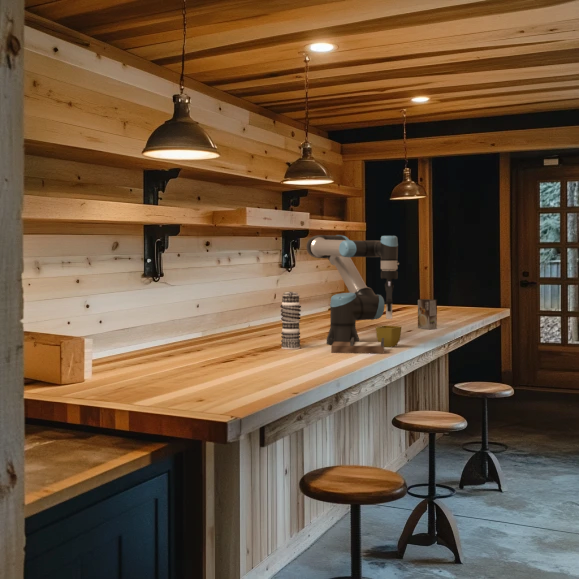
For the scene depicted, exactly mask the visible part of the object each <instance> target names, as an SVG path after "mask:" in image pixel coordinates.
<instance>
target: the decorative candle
mask: <svg viewBox="0 0 579 579" xmlns="http://www.w3.org/2000/svg"><path fill="white" fill-rule="evenodd" d="M300 296H301V295H299V294H298V291H284V292H283V294H282V295H281V297H282V299H281V301H282V302H281V304H280V308H281V309H280V316H281V318H280V319H281V321H280V322H281V323H282V325H281V326H282V328H281V333H280V334H281V338H282V339H281V340H280V341H281V344H280V346H281V349H282V350H300V349H301V332H300V323H301V318H302V317H300V316H301V311H302V309H301V308H302V306H301V305H300V304H301V303H300Z"/></svg>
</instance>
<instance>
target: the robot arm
mask: <svg viewBox="0 0 579 579" xmlns="http://www.w3.org/2000/svg"><path fill="white" fill-rule="evenodd" d="M305 247H306V252H307V254H308V255H309V256H311V257H313V258H315V259H328V261H329V263H330V265H333V266H335V268H336V270H337V271H338V273H339V275H340V277H341V279H342V281H343V283H344V285H345V286H346V288H347V290H348V292H341V293H336V294H333V295H332V296H331V297H330V304H329V305H330V306H329V308H330V328H329V329H328V330H329V331H328V333H327V337H326V344H327V345H329V346H332V344H333V342H350V341H351V339H352V337H354V342H360V338H359V334H358V331H357V328H356V327H357V326H356V322H357V321H370V320H371V321H374V320H379V319H380V318H382V316H383V314H384V312H385V319H387V320H389V319H390V320H392V319H393V302H394V299H393V292H394V287H395V286H394V285H395V284H394V282H393V280H398V276H399V275H398V274H399V272H398V268H399V267H398V266H399V265H400V262H399V261H398V257H399V256H398V255H399V242H398V236H396V235H381V237H380V240H353V239H352V240H351V239H349V237H347V236H345V235H341V234H336V235H333V234H331V235H326V234H325V235H324V234H323V235H322V234H317V235H314V236H312V237H310V238H309V239H308V240H307V241H306V245H305ZM352 258H380V279H381V280H386V281H385V283H384V288H385V290H384V291H385V293H386V294H385V295H386V299H384V297H383V296H382V294H378V293H377V294H376V293H375V292H374V290H373V288H371V287H368V286H367V285H366V283H365V281H364V279H363V277H362V275H361V274H360V271H359V270H358V268H357V267H356V265H355V263H354V261H353V260H352ZM385 300H386V301H385Z"/></svg>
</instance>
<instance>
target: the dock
mask: <svg viewBox="0 0 579 579" xmlns="http://www.w3.org/2000/svg"><path fill="white" fill-rule="evenodd" d="M330 346H331V347H330V348H331V352H330V353H331V354H369V353H370V354H374V355H375V354H377V355H378V354H379V355H384V353H385V347H384V338H382V340H381V342H378V341H359V342H354V337H352V339H351V341H350V342H333V344H332V345H330ZM370 354H369V355H370Z"/></svg>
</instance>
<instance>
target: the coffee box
mask: <svg viewBox="0 0 579 579" xmlns="http://www.w3.org/2000/svg"><path fill="white" fill-rule="evenodd" d="M417 329H421V330H437V329H438V299H431V298H428V299H427V298H420V299H418V300H417Z"/></svg>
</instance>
